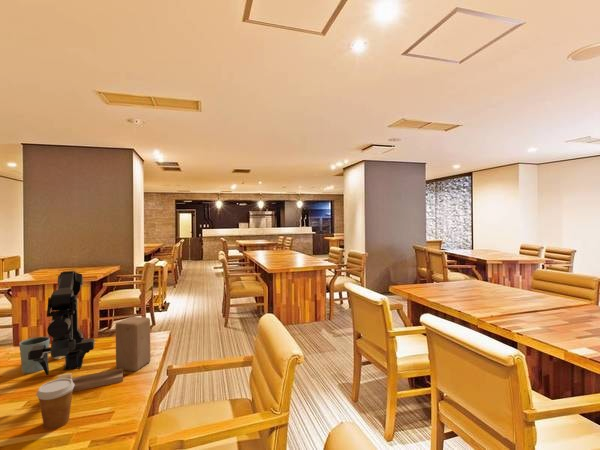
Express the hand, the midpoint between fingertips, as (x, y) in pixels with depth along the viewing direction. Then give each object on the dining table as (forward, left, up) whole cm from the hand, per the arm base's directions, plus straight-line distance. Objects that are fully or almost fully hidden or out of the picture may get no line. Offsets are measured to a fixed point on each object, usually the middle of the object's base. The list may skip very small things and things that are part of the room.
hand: (63, 372), depth 118 cm
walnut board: (-7, +7, -9) cm, 13 cm away
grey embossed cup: (-33, -15, -9) cm, 37 cm away
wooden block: (-16, +22, -9) cm, 29 cm away
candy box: (-43, -6, -9) cm, 44 cm away
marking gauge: (-4, 0, -9) cm, 9 cm away
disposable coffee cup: (+17, 0, -9) cm, 20 cm away
